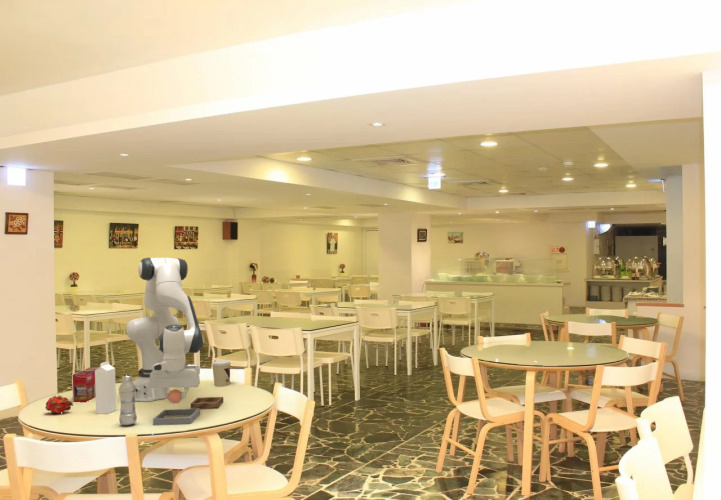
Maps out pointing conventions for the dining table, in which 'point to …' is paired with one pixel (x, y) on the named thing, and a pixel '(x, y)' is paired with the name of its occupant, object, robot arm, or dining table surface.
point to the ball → (174, 396)
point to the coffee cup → (221, 373)
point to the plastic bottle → (127, 401)
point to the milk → (105, 389)
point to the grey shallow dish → (176, 412)
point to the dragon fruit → (58, 404)
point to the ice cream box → (84, 385)
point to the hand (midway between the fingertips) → (175, 398)
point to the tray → (206, 403)
